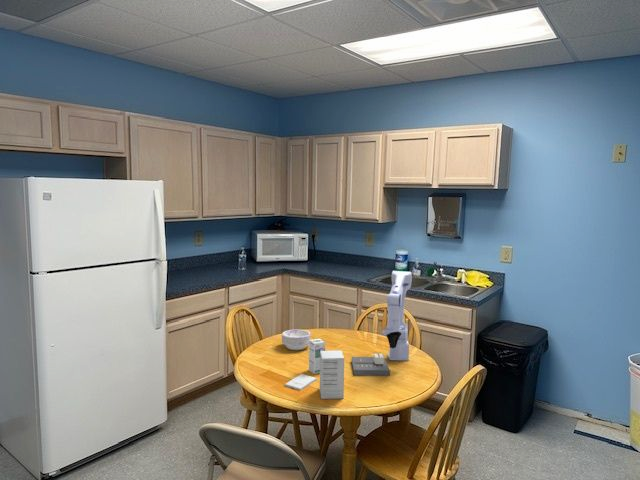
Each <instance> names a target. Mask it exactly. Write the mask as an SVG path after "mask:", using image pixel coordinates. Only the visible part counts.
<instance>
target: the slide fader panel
mask: <svg viewBox="0 0 640 480" xmlns="http://www.w3.org/2000/svg"><path fill="white" fill-rule="evenodd" d="M383 357H384V364H375V363H374V356H351V365H352V370H353V375H354V376H390V374H391V370H390V367H389V364H388V362H387V360H386V358H385V356H383Z"/></svg>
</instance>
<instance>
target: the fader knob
mask: <svg viewBox="0 0 640 480" xmlns="http://www.w3.org/2000/svg"><path fill="white" fill-rule="evenodd" d="M373 357H374V363H375V364H384V357H385V356H384V354H383V353H373Z"/></svg>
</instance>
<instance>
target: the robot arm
mask: <svg viewBox="0 0 640 480" xmlns="http://www.w3.org/2000/svg"><path fill="white" fill-rule="evenodd" d="M412 276H413V273H412V271H405V270H404V271H402V270H392V272H391V285H392V286H391V288H390V292H389V293H388V294H387V296H386V308H387V326H385V329H383V330H381V335H382V336H386V338H387V341H388V346H389V349H388V350H389V352H388V353H387V358H388V359H389V361H410V359H409V358H410V356H409V355H410V343H409V341H408V338H409V337H408V334H409V331H408V330H409V329H408V328H409V327H408V324H407V323H405V321H404V316H405V315H404V313H405V302H406V294H407V291H408V290H410V289H411V287H412V280H413V277H412Z"/></svg>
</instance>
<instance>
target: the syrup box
mask: <svg viewBox="0 0 640 480" xmlns="http://www.w3.org/2000/svg"><path fill="white" fill-rule="evenodd" d="M320 351H326V341H325V340H323V339H321V338H315V339H311V340H309V344H308V370H309V372H311V373H312V374H313V375H317V374H320Z"/></svg>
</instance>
